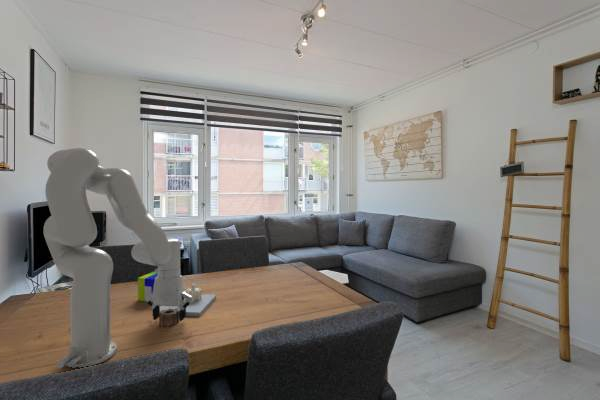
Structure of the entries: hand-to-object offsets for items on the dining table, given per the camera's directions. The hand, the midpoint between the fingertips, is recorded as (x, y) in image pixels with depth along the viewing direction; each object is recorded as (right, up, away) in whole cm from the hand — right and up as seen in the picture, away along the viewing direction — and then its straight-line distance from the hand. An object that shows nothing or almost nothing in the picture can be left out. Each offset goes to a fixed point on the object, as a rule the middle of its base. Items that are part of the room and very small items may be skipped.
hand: (169, 318), depth 108 cm
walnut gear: (0, -1, 0) cm, 1 cm away
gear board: (+1, -1, +16) cm, 16 cm away
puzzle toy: (-17, 0, +24) cm, 30 cm away
